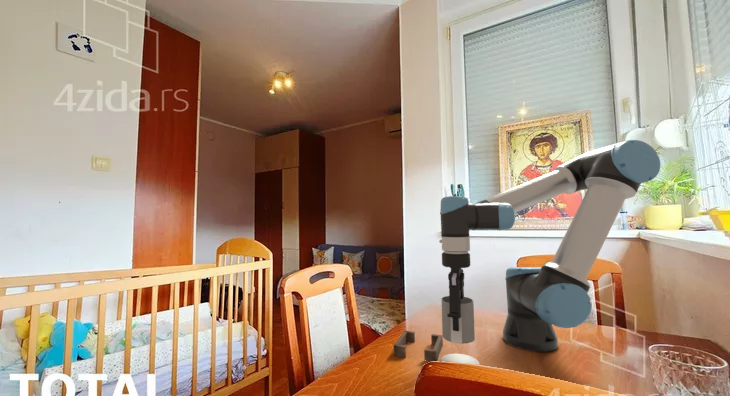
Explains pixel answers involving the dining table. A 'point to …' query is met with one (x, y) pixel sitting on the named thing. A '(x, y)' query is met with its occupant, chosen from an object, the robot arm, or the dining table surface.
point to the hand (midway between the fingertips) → (458, 335)
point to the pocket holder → (410, 337)
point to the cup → (466, 317)
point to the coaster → (459, 359)
